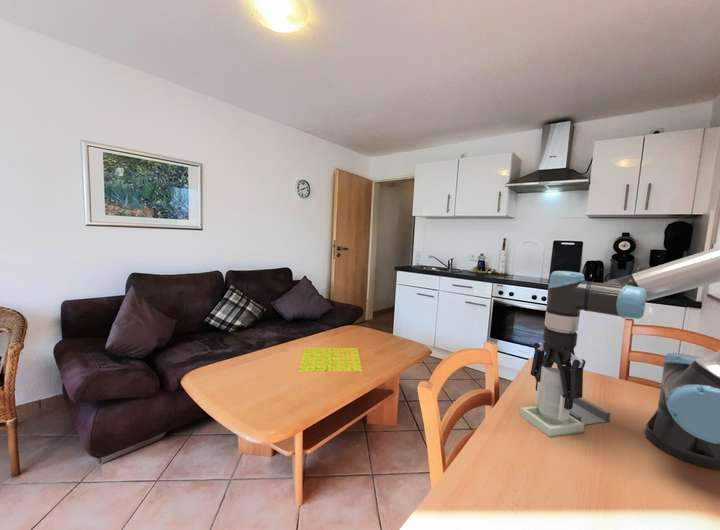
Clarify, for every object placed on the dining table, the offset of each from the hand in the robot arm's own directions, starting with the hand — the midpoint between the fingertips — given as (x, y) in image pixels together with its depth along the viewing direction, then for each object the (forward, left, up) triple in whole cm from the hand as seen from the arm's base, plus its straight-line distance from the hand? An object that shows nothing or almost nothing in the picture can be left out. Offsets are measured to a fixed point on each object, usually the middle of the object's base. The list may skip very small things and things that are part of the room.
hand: (551, 411), depth 84 cm
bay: (+3, -12, -3) cm, 13 cm away
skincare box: (0, 0, -1) cm, 1 cm away
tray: (0, 0, -3) cm, 3 cm away
